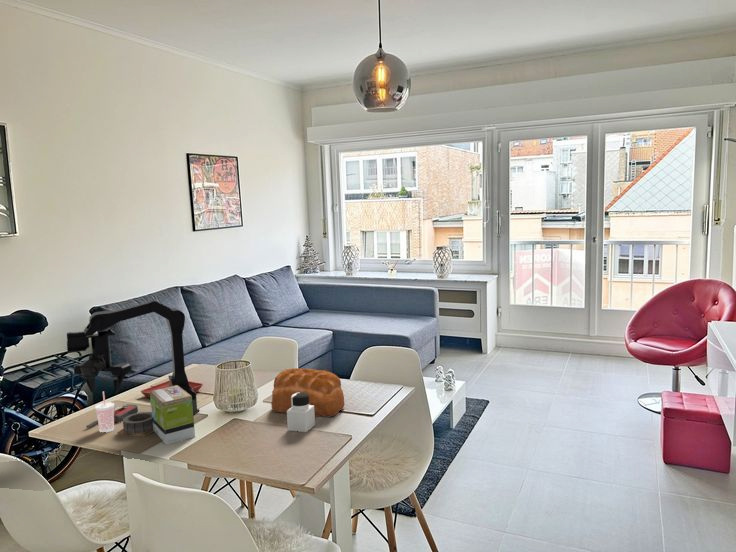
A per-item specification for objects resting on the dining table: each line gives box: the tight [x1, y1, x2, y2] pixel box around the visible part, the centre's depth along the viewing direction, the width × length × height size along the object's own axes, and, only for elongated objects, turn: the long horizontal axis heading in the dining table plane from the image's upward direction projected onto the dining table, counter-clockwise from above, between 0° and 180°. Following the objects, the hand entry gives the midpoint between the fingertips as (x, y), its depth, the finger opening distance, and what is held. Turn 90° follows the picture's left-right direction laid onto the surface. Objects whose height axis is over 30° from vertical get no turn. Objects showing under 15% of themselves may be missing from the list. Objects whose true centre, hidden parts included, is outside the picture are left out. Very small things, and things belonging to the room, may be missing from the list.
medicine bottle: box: [286, 392, 316, 433], centre depth 193 cm, size 7×7×12 cm
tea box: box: [149, 385, 196, 446], centre depth 191 cm, size 15×10×15 cm, turn 36°
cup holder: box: [116, 411, 155, 437], centre depth 197 cm, size 11×11×4 cm
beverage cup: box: [94, 391, 115, 433], centre depth 197 cm, size 6×6×14 cm
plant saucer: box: [139, 380, 204, 398], centre depth 235 cm, size 18×18×3 cm
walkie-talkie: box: [85, 404, 139, 429], centre depth 208 cm, size 9×4×20 cm
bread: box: [270, 367, 345, 417], centre depth 211 cm, size 14×26×16 cm, turn 69°
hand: (104, 392), depth 197 cm, fingers open, 9 cm apart
